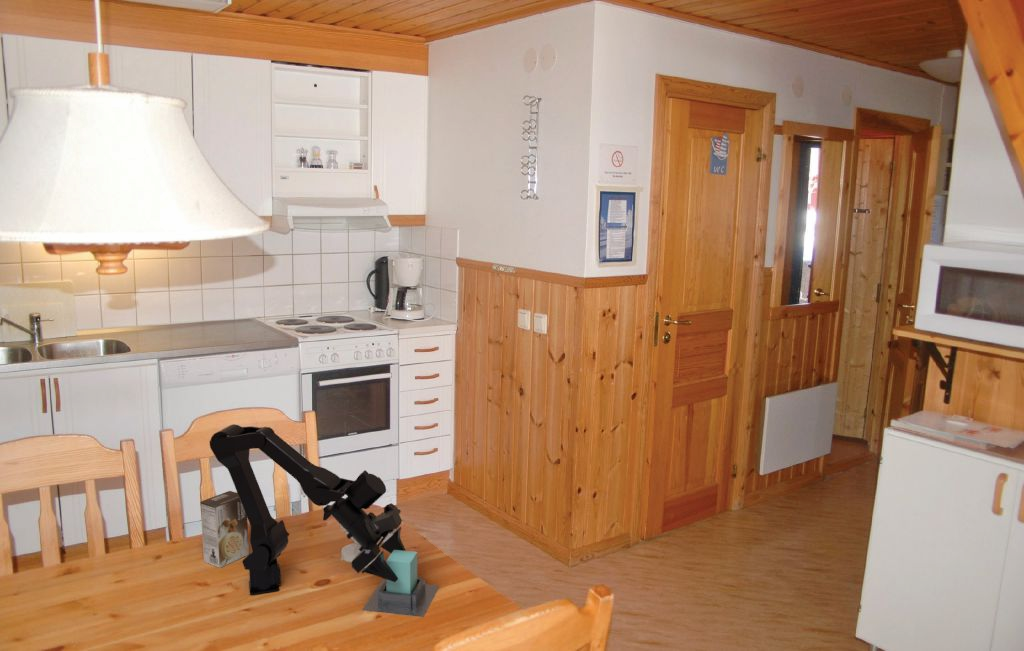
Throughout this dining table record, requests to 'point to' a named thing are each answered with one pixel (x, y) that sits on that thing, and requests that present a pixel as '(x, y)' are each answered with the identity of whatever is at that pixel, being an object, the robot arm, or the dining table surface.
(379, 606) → the socket holder
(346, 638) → the dining table surface
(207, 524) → the coffee box
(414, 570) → the teal block
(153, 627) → the dining table surface
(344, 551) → the wall hook
